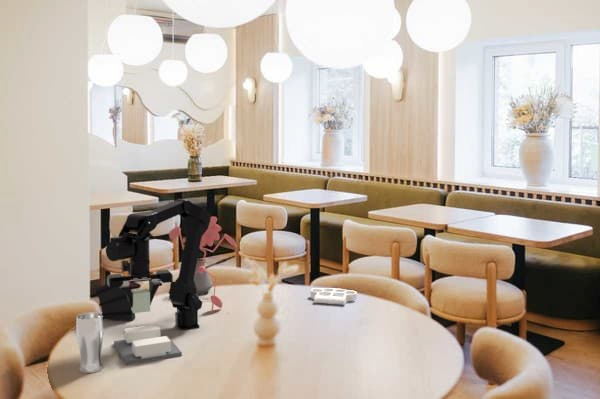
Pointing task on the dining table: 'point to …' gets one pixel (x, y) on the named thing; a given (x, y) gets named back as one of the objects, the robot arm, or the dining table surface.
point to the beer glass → (90, 341)
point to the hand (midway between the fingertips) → (140, 306)
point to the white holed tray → (333, 295)
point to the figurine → (209, 239)
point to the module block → (140, 300)
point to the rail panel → (134, 359)
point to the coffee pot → (205, 276)
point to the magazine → (114, 303)
